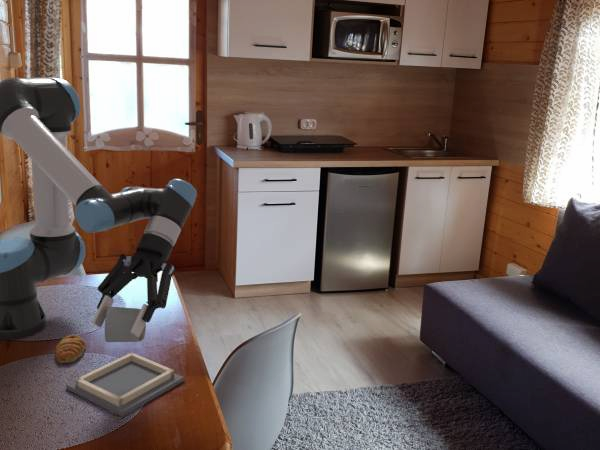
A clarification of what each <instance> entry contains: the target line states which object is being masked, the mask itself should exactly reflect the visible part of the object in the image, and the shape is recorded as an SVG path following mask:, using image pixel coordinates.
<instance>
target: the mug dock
mask: <svg viewBox="0 0 600 450" xmlns="http://www.w3.org/2000/svg"><path fill="white" fill-rule="evenodd" d="M184 381H185V378H184V376H182V375H180V374H177V373H175V369H172V368H170V367H167V366H165V365H162V364H161V363H158V362H155V361H153V360H151V359H149V358H146V357H144V356H141V355H139V354H136V353H134V352H129V353H127V354H125V355H123V356H121V357H119V358H117V359H115V360H113V361H111V362H109V363H106V364H105V365H103V366H100V367H98V368H96V369H94V370H92V371H90V372H88V373H86V374H83V375H82V376H79V377H78V378H75V379H74V380H73V381H71V382H68V383H66V384H65V389H66V390H68V391H70V392H73V393H74V394H76V395H78V396H80V397H82V398H83V399H86V400H88V401H90V402H92V403H94V404H95V405H98V406H99V407H101V408H104V409H106V410H107V411H110V412H112V413H113V414H116V415H117V416H120V417H121V418H123V417H125V416H126V415H128V414H129V413H132V412H133V411H135V410H137V409H139V408H140V407H142V406H143V405H145V404H147V403H149V402H150V401H151V400H153V399H155V398H157V397H159V396H161V395H163V394H165V393H166V392H167V391H169V390H171V389H172V388H174V387H176V386H177V385H179V384H182V383H183V382H184Z"/></svg>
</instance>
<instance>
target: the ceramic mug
mask: <svg viewBox="0 0 600 450" xmlns="http://www.w3.org/2000/svg"><path fill="white" fill-rule="evenodd" d="M140 310H141V308H135V307H134V308H133V307H120V306H111V307H109V308H108V309H107V313H106V318H105V320H104V340H105V342H106V343H136V342H142V341H143V340H144V339H145V337H146V336H145V335H146V329H147V323H146V324H145V326H144V328H143V331H142V333H141V335H140V337H136V336H135V335H134V334H132V333H131V330H132V327H133V325H134V323H135V321H136V319H137V317H138V315H139V313H140Z"/></svg>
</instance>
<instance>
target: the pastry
mask: <svg viewBox="0 0 600 450" xmlns="http://www.w3.org/2000/svg"><path fill="white" fill-rule="evenodd" d="M86 346H87V343H86V342H85V340H84V339H83V338H82V337H81V336H80V335H77V334H70V335H68V336H64V337H63V338H62V339H61V340H60V342H59V343H58V344H57V345H56V347H55V356H56V360H57V363H59V364H65V363H66V364H69V363H74V362H75V361H76V360H77V359H79V358H81V357H82V355H83V353H84V351H85V349H86Z"/></svg>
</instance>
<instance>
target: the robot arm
mask: <svg viewBox="0 0 600 450" xmlns="http://www.w3.org/2000/svg"><path fill="white" fill-rule="evenodd" d="M80 113H81V102H80V96H79V95H78V92H77V91H76V89H75V88H74V87H73V85H72V84H71V83H70V82H69V81H67V80H65V79H64V78H58V77H57V78H56V77H50V76H49V77H47V76H45V77H43V76H41V77H9V78H6V79H3V80H2V81H0V133H1V134H2V135H3V137H5V138H6V139H9V140H13V141H14V142H15V143H16V144H17V145H18V146H19V148H21V150H22V151H23V152H24V153H25V154H26V155H27V156H28V157H29V158H30V159H31V167H32V169H31V170H32V172H31V173H32V186H33V187H32V188H33V189H32V190H33V203H34V225H33V226H32V227H31V228H30V229H29V238H27V237H12V238H5V239H2V240H0V340H1V341H2V340H3V341H4V340H5V341H6V340H7V341H8V340H9V341H10V340H12V341H13V340H18V339H24V338H27V337H31V336H33V335H36V334H38V333H40V332H41V331H42V330H44V329H45V328H46V326H47V316H46V313H45V311H44V309H43V307H42V305H41V303H40V301H39V298H38V291H37V285H38V284H40V283H44V282H46V281H50V280H53V279H54V278H58V277H62V276H65V275H69V274H70V273H71V272H73V271H76V270H77V269H79V268H80V267H81V265H83V262H84V261H85V256H86V246H85V242H84V240H82V239H83V238H82V236H81V235H80V234H79V233H78V232H77V231H76V227H75V226H73V224H71V223H70V216H69V215H70V213H69V201H70V203H72V204H73V205H74V206H75V210H74V218H75V220H76V221H77V225H78V226H79V228H80V229H81V230H83V231H84V232H86V233H89V234H90V233H98V232H104V231H108V230H111V229H113V228H116V227H119V226H123V225H126V224H131V223H134V222H137V221H140V220H144V219H146V220H147V219H149V220H148V223H147V225H146V227H145V229H144V230H143V231H144V232H143V233H144V234H142V235H141V237H140V239H139V241H138V244H137V245H136V251H135V253H134V254H133V255H132V256H130V255H129V256H127V255H126V254H124V253H122V254H120V256H119V258H118V261H117V262H116V264H115V265H114V266H113V267H112V269H111V270H110V271H109V273H108V274H107V275H106V276H105V278H104V279H103V280H102V281H101V282H100V283H99V285H98V286H97V291H98V292H99V293H101V294H102V295H101V297H100V300H99V301H98V303H97V306H96V309H97V311H96V313H95V315H94V317H93V319H92V320H91V323H92V324H93V325H95V326H96V327H98V328H102V327H103V324H104V323H105V318H106V313H107V309H108V308H109V307H113V305H114V302H115V300H114V297H116V295H117V294H119V292H121V291H122V290H123V289H124V288H125V287H126V286H128V285H129V283H131V282H132V281H133V280H136V279H137V278H138V277H139V278H144V279H146V285H147V286H146V290H147V291H146V292H147V294H146V295H147V296H146V297H147V301H145V303H146V304H145V303H143V304H142V306H141V308H140V309H141V310H140V313H139V315H138V317H137V319H136V321H135V323H134V325H133V327H132V330H131V333H132V334H134V335H135V336H136V337H140V335H141V333H142V331H143V328H144V326H145V324H146V325H147V323H149V322H150V321H151V320H152V318H153V315H154V313H155V311H156V310H157V309H165V308H166V307H167V301H168V297H169V293H170V287H171V281H172V278H173V275H174V274H175V272H176V268H175V267H174V265H172V264H171V262H167V261H168V259H169V258H170V255H171V253H172V251H173V250H174V249H173V247H175V244H176V243H177V240H178V238H179V236H180V233H181V232H182V229H183V227H184V224H185V223H186V221H187V219H188V218H189V215H190V213H191V211H192V209H193V207H194V204H195V202H196V198H197V197H198V195H197V194H198V193H197V190H196V188H195V187H194V185H192V184H191V183H190V182H188V181H186V180H183V179H181V178H172V180H169V181H168V183H167V184H166V185H165V188H161V187H160V188H153V187H142V186H138V185H137V186H127V187H124V188H122V189H121V191H119V192H114V193H109V192H108V190H107V189H106V188H105V187H104V186H103V185H102V184H101V183H100V181H98V180H97V179H96V178H95V177H94V176H93V175H92V174H91V172H89V170H88V169H86V167H85V166H84V165H83V163H81V162H80V161H79V159H77V158H76V156H74V154H73V153H72V152H71V151H70V150H69V149H68V147H67V142H66V139H67V136H68V135H69V134H70V133H71V132H72V122H73V123H74V121H76V120H77V118H78V116H80ZM166 262H167V263H166ZM160 272H161V275H160V280H159V278H158V274H159V273H160ZM158 281H159V285H158Z"/></svg>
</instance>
